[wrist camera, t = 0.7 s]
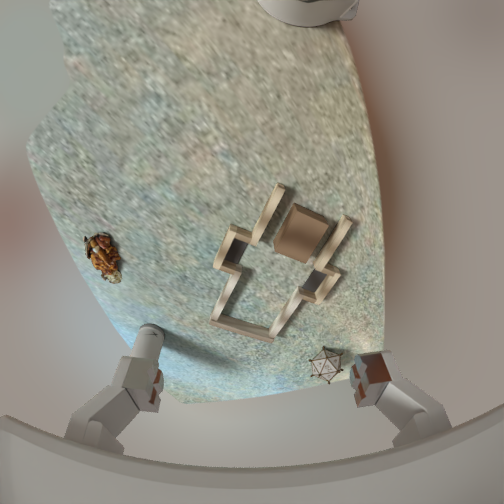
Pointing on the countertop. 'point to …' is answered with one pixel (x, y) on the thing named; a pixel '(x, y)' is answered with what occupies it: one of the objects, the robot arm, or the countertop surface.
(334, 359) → the game die
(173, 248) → the countertop surface
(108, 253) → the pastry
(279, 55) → the countertop surface
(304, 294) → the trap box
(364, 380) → the robot arm
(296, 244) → the walnut block
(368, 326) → the countertop surface
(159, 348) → the travel mug
